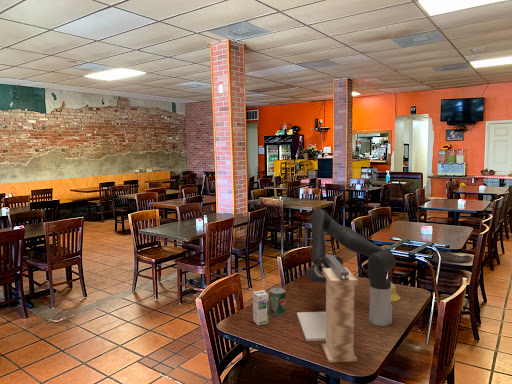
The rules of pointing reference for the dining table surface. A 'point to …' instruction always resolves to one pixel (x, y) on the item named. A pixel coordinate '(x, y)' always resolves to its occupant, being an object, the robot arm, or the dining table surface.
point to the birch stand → (339, 317)
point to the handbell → (392, 287)
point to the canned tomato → (277, 301)
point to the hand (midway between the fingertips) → (331, 258)
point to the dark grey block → (337, 267)
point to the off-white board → (313, 325)
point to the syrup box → (261, 307)
